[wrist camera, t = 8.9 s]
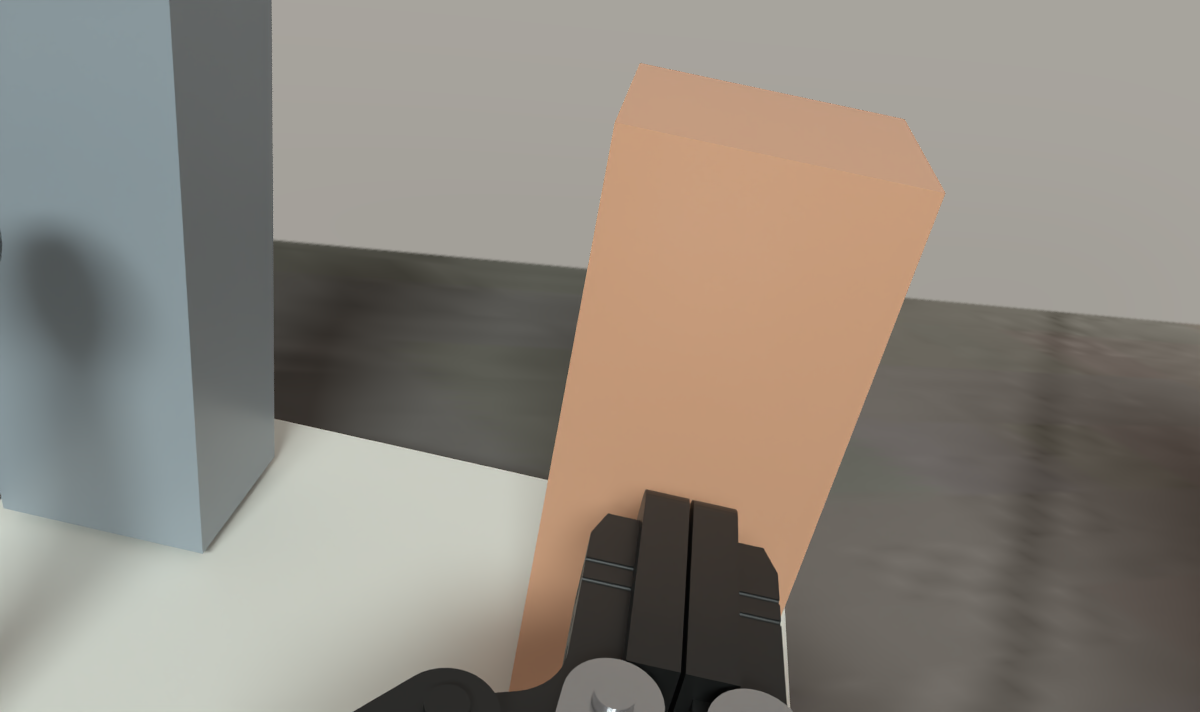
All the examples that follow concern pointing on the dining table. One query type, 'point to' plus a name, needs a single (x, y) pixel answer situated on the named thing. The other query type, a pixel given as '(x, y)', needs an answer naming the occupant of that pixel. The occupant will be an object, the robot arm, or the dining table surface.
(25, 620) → the control board
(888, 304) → the terracotta slider
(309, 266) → the dining table surface
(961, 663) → the dining table surface
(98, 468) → the slate slider
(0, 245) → the toggle lever
